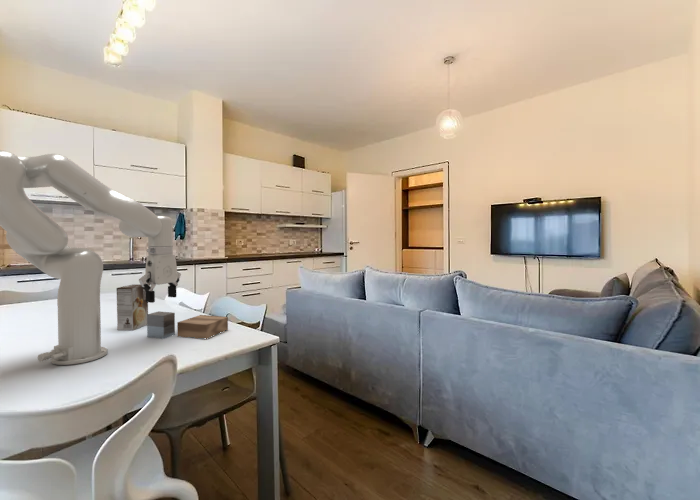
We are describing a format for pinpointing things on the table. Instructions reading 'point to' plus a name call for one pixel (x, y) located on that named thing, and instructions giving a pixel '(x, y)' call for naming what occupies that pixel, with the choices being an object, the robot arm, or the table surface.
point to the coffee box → (131, 307)
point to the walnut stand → (202, 326)
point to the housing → (160, 324)
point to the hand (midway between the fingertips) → (161, 299)
